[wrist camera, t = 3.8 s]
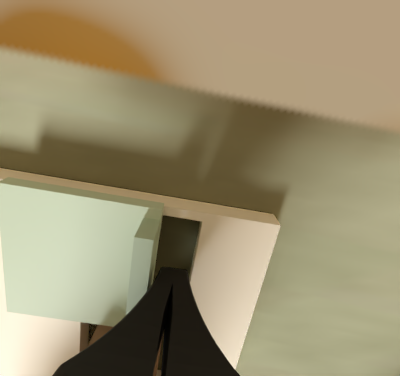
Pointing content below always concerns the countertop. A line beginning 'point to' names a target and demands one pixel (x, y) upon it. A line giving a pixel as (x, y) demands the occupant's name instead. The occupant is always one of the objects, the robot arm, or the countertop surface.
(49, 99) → the countertop surface
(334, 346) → the countertop surface
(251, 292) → the puzzle board
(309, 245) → the countertop surface
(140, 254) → the lid
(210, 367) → the robot arm
